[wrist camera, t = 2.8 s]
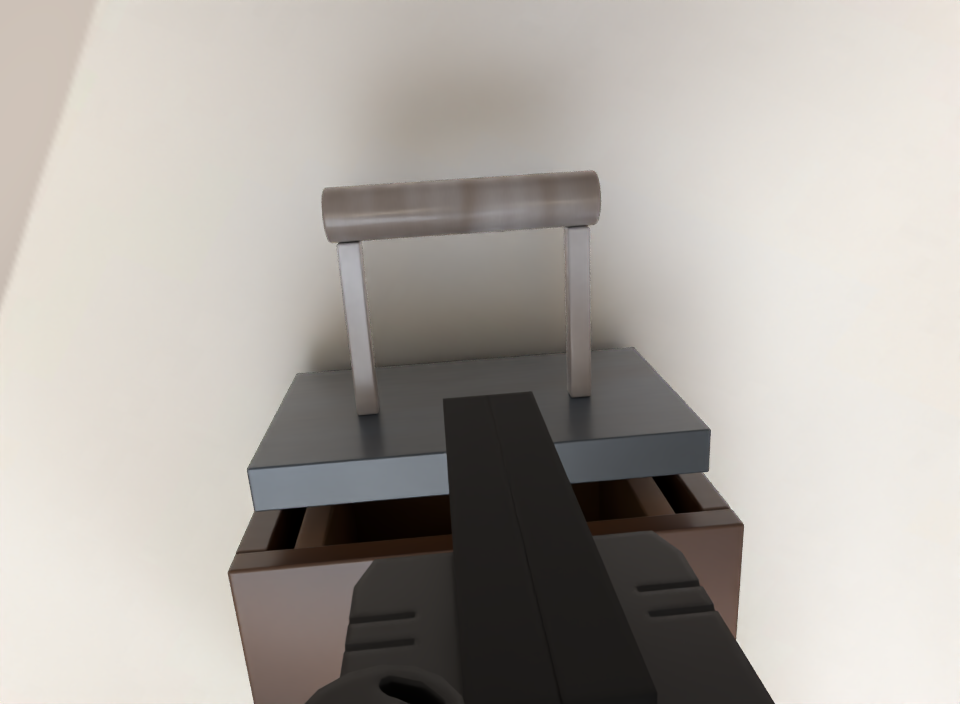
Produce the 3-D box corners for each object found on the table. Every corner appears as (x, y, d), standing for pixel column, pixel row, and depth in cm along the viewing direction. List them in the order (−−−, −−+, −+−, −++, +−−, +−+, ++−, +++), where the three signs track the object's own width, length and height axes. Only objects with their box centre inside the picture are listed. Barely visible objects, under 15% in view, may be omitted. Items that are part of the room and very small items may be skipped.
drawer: (267, 182, 21) (198, 206, 15) (636, 158, 22) (725, 171, 15) (344, 695, 27) (319, 871, 21) (630, 666, 28) (691, 828, 21)
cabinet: (292, 424, 25) (226, 572, 16) (642, 395, 25) (745, 524, 17) (341, 742, 29) (309, 982, 21) (637, 711, 30) (716, 931, 22)
